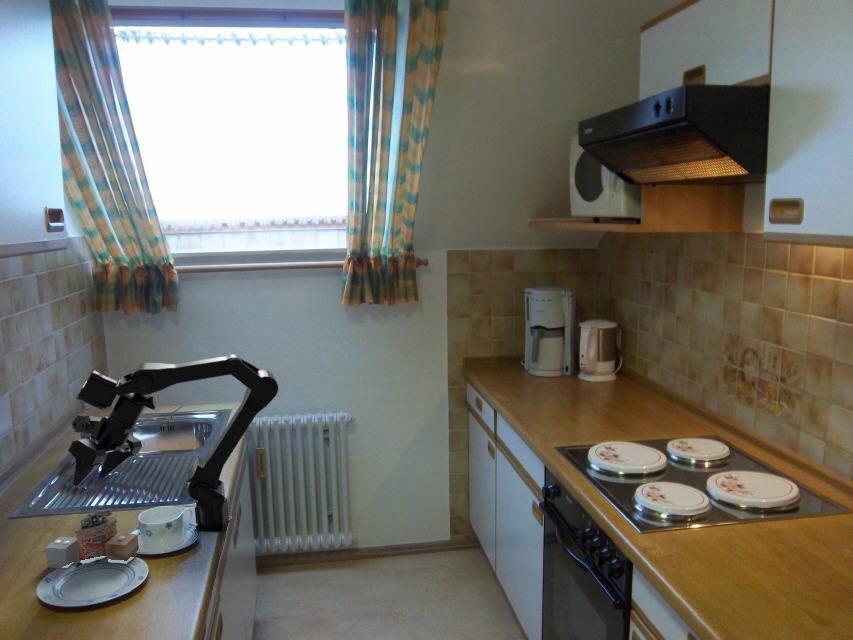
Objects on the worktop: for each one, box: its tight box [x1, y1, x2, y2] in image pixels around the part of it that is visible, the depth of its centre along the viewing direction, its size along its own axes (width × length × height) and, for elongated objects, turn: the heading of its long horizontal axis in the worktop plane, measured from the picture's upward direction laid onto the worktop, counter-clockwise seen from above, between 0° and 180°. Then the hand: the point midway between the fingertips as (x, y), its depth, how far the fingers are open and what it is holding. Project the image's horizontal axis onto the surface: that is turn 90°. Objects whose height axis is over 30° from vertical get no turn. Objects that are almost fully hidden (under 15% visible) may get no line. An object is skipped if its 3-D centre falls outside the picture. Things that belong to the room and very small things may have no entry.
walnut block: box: [105, 532, 140, 561], centre depth 143 cm, size 4×4×5 cm
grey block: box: [44, 536, 79, 569], centre depth 142 cm, size 4×4×5 cm
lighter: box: [74, 508, 118, 562], centre depth 143 cm, size 8×3×10 cm, turn 130°
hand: (88, 481), depth 147 cm, fingers open, 9 cm apart
